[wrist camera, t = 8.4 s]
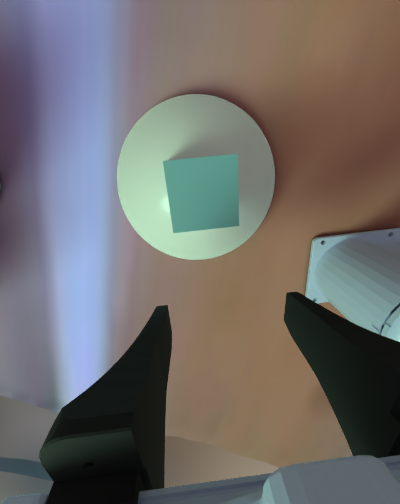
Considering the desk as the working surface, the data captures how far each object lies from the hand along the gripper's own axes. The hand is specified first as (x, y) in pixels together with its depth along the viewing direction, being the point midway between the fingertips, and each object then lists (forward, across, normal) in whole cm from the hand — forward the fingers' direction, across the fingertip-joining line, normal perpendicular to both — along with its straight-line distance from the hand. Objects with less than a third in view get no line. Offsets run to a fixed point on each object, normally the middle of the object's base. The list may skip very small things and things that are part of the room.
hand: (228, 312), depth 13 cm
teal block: (+8, +1, -6) cm, 10 cm away
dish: (+9, +1, -6) cm, 11 cm away
